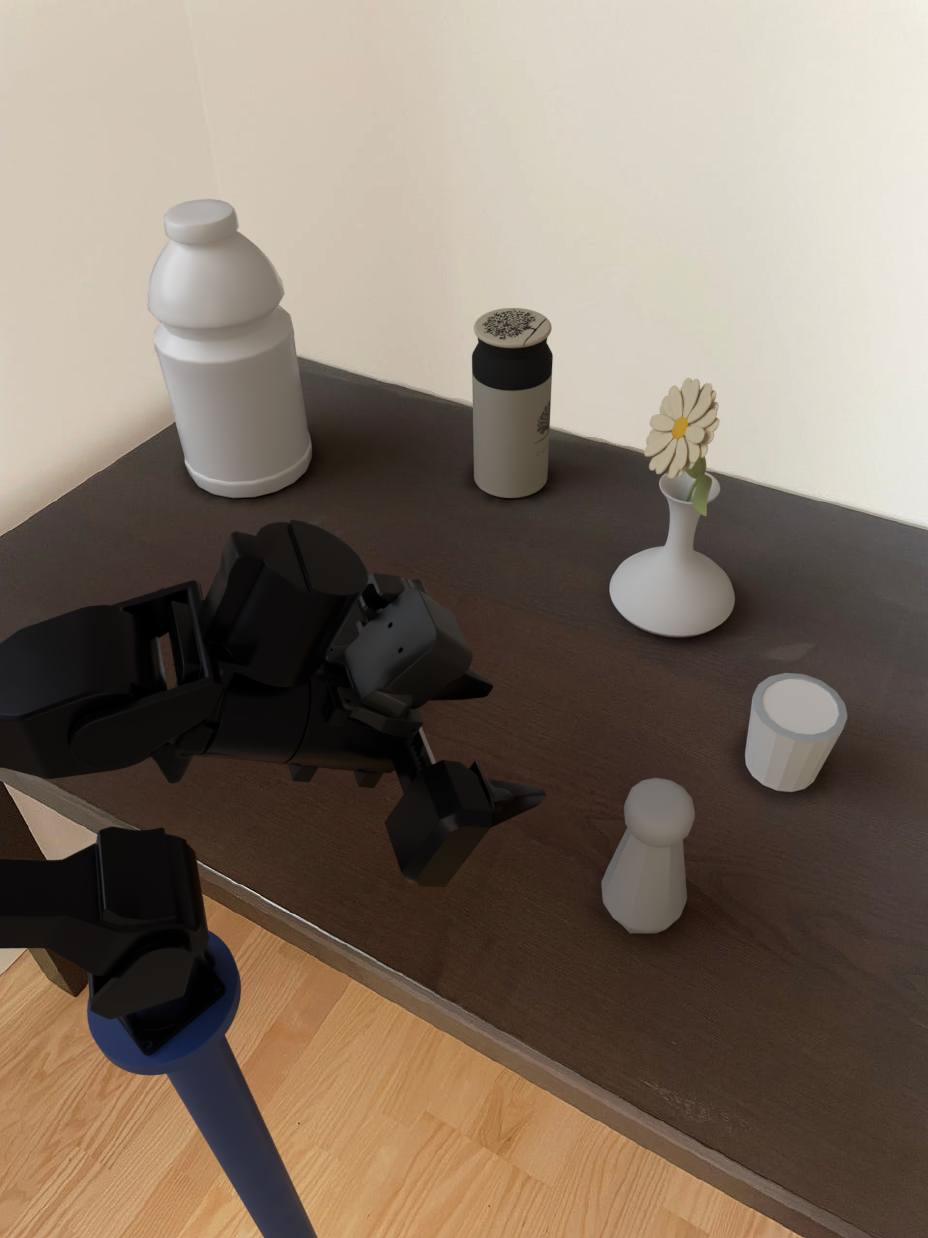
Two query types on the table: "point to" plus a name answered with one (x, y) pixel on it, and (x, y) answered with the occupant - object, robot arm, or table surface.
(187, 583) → the robot arm
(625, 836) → the salt shaker
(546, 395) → the travel mug
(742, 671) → the table surface
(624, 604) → the flower in vase
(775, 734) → the shot glass
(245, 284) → the bottle
